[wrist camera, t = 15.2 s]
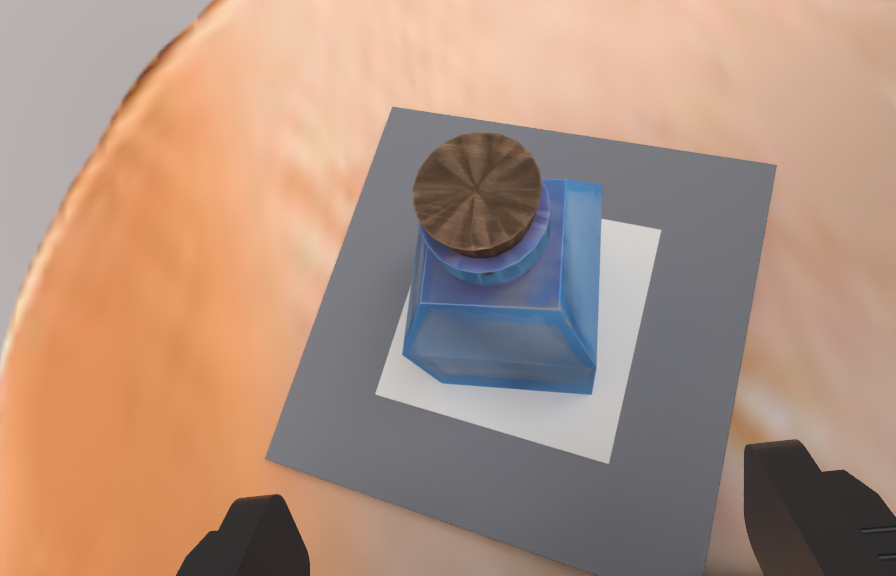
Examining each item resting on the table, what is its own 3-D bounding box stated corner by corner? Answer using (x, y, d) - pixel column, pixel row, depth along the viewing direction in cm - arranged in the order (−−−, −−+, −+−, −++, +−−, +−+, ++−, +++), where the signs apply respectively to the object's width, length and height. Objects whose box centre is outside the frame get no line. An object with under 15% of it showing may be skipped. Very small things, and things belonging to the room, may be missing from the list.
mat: (769, 176, 26) (778, 162, 25) (691, 604, 22) (697, 611, 21) (397, 117, 31) (391, 104, 30) (275, 459, 27) (262, 458, 26)
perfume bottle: (596, 250, 26) (612, 74, 15) (591, 394, 24) (604, 320, 13) (456, 247, 27) (371, 83, 16) (441, 383, 25) (335, 306, 14)
